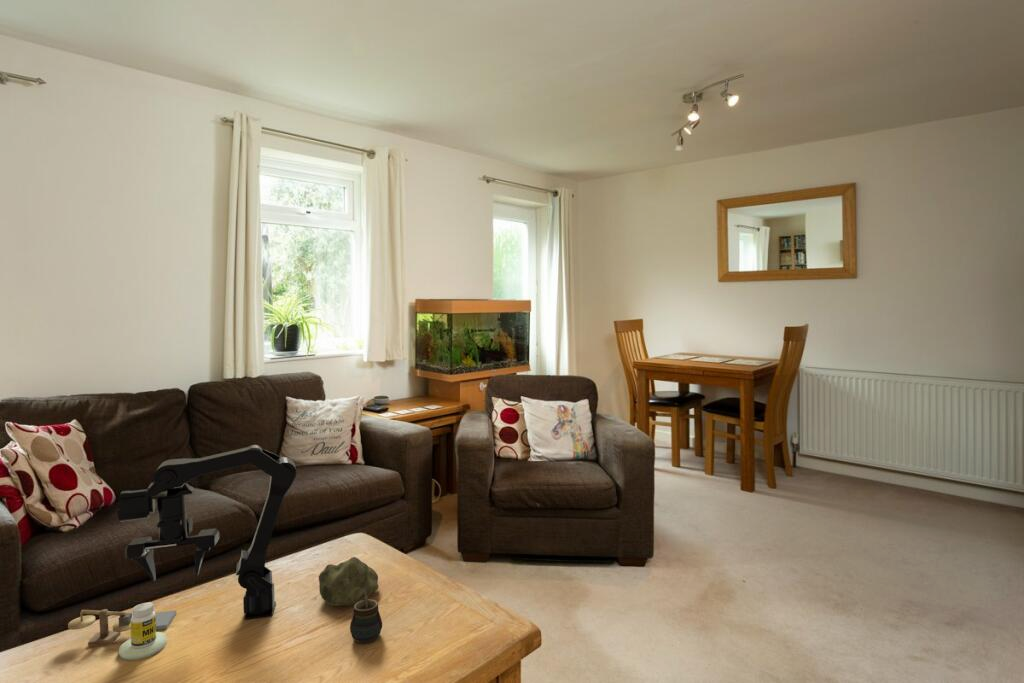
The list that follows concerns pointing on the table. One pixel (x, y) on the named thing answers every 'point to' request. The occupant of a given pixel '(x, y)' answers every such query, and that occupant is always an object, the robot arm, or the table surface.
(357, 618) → the mate gourd
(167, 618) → the slate coaster
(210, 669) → the table surface
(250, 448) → the robot arm
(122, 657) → the sage dish
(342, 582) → the decorative rock
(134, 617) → the supplement bottle
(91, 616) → the balance
